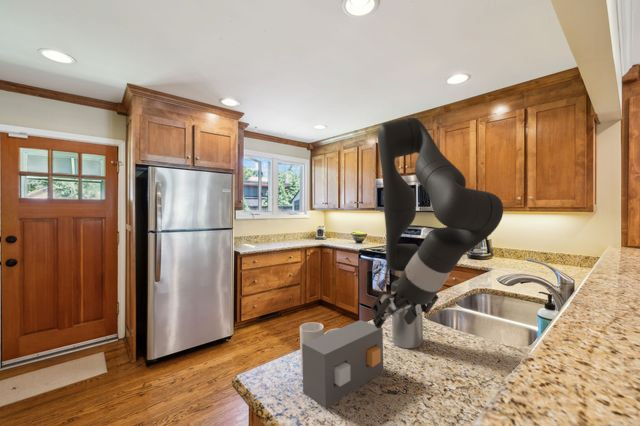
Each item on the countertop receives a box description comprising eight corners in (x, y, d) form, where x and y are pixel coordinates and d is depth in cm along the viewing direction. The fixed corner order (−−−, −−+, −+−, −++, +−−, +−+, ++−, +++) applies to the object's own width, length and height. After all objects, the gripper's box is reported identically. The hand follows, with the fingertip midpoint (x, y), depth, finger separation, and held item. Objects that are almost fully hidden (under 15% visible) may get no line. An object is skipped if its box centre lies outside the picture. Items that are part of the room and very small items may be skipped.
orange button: (370, 357, 77) (369, 344, 77) (380, 362, 75) (380, 348, 75) (361, 362, 75) (361, 348, 75) (372, 367, 72) (372, 352, 72)
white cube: (339, 374, 69) (339, 359, 69) (350, 380, 67) (350, 364, 67) (329, 380, 67) (328, 364, 67) (339, 386, 64) (339, 370, 64)
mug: (328, 372, 78) (327, 328, 78) (305, 378, 75) (304, 333, 75) (314, 356, 87) (313, 317, 87) (293, 361, 84) (292, 320, 84)
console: (360, 360, 84) (359, 320, 84) (383, 371, 78) (382, 327, 78) (303, 392, 69) (302, 343, 69) (325, 408, 63) (324, 354, 63)
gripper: (440, 261, 62) (408, 306, 71) (385, 262, 57) (359, 311, 66) (462, 288, 57) (425, 334, 65) (404, 292, 51) (372, 342, 60)
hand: (391, 322), depth 65 cm, fingers open, 8 cm apart
